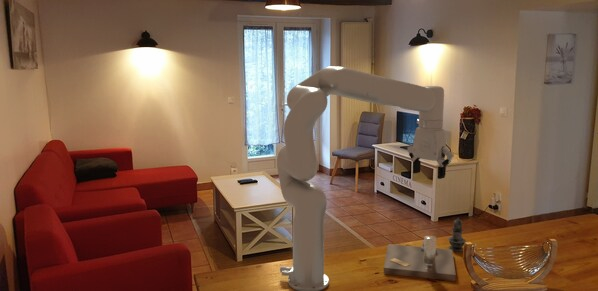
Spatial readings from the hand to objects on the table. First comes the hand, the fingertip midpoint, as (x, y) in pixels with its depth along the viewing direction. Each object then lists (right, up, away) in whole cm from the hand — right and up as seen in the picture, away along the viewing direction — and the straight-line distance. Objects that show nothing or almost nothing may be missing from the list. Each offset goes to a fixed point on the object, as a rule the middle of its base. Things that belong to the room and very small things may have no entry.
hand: (428, 175), depth 157 cm
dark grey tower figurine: (+14, -28, +14) cm, 34 cm away
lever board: (-3, -30, +2) cm, 30 cm away
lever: (0, -27, +1) cm, 27 cm away
